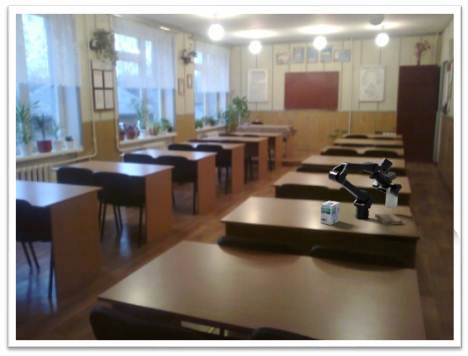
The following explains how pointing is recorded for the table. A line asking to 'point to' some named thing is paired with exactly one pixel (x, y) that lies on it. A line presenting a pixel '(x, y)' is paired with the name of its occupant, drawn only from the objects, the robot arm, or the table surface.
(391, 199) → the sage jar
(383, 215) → the walnut base block
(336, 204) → the light bulb box
